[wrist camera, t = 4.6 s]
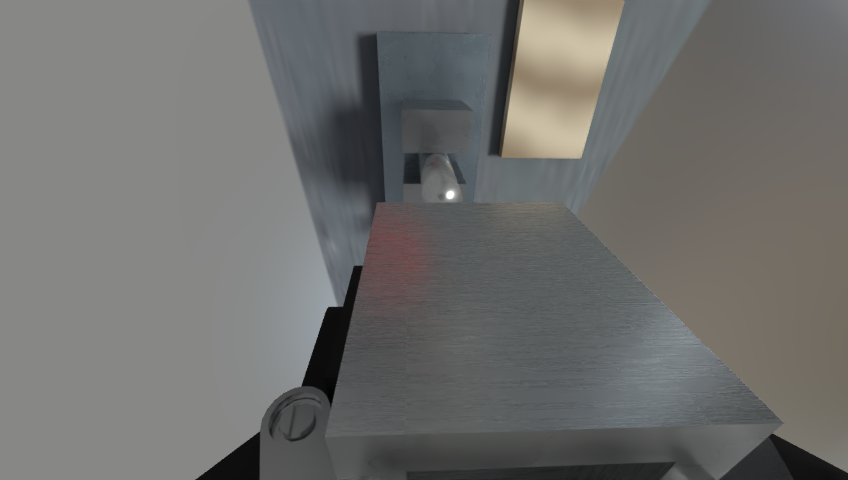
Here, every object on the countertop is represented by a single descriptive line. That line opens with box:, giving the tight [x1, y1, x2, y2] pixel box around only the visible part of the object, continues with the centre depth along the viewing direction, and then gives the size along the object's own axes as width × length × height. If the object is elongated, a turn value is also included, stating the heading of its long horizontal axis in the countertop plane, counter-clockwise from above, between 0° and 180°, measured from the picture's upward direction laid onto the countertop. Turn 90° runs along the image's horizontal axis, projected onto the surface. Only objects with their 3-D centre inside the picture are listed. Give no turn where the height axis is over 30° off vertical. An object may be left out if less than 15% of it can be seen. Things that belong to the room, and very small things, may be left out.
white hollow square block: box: [325, 202, 783, 480], centre depth 8 cm, size 6×6×7 cm
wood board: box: [498, 0, 625, 158], centre depth 27 cm, size 14×8×1 cm, turn 179°
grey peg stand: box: [377, 32, 491, 203], centre depth 24 cm, size 18×9×14 cm, turn 179°
